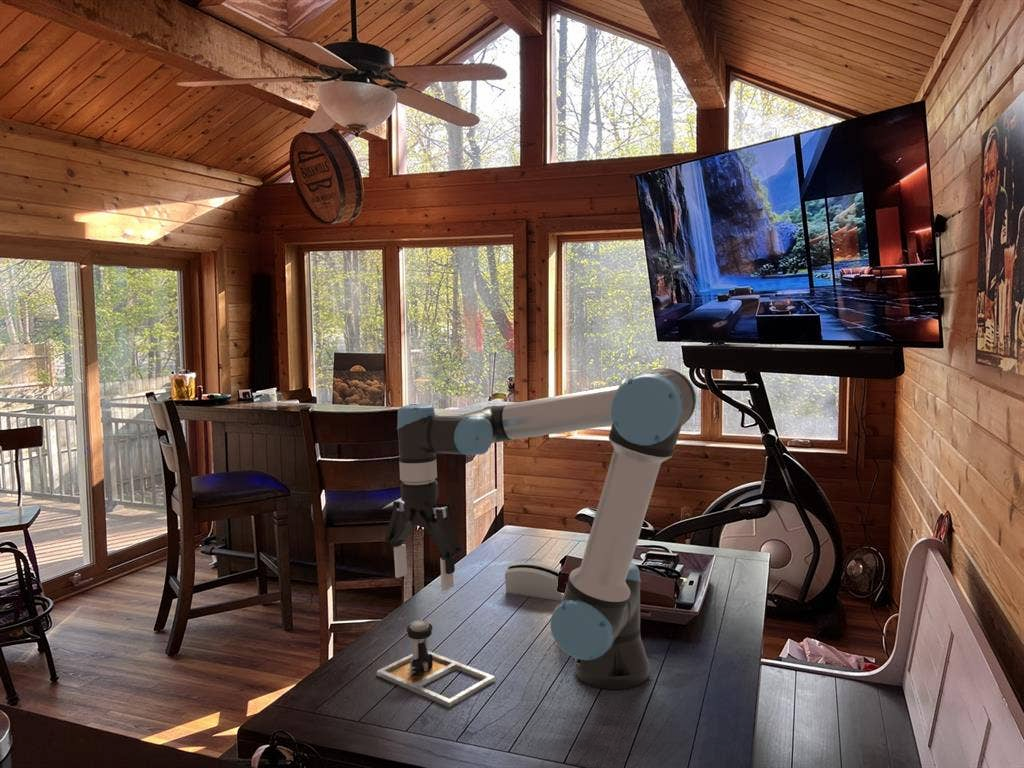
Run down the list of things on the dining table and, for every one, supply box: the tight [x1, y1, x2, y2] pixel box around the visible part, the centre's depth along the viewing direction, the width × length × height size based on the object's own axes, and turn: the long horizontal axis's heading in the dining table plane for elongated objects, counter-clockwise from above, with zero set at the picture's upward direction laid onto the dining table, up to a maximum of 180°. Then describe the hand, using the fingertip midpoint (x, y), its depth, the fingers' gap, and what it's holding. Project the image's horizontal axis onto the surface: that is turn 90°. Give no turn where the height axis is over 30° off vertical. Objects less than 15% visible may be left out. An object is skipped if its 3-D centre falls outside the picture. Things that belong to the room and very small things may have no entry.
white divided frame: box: [376, 650, 496, 708], centre depth 156 cm, size 21×13×1 cm, turn 50°
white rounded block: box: [504, 562, 564, 602], centre depth 200 cm, size 17×5×10 cm, turn 65°
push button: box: [406, 619, 434, 675], centre depth 159 cm, size 7×5×10 cm
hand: (423, 582), depth 158 cm, fingers open, 13 cm apart
